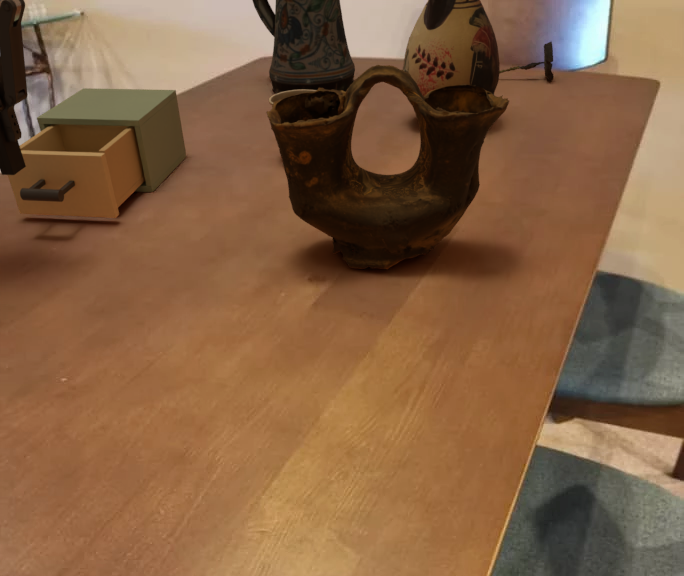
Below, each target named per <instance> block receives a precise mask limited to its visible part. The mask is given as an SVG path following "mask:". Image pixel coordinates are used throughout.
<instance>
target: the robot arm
mask: <svg viewBox="0 0 684 576" xmlns="http://www.w3.org/2000/svg"><path fill="white" fill-rule="evenodd" d="M25 8H26V1H25V0H0V174H1V175H3V176H8V175H15V174H16V173H18V172H19V171H20V170H22V169H23V168H25V167H26V165H25V162H24V159H23V156H22V153H21V149H20V143H19V141H20V140H21V139H22V130H21V127H20V124H19V120H18V117H17V114H16V111H15V105H17V104H19V103H21V102H22V101H24V100H26V99H27V98H28V84H27V75H26V74H27V72H26V62H25V52H24V51H25V49H24V40H23V29H22V21H23V16H24V12H25V10H26V9H25Z"/></svg>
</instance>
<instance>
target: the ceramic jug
mask: <svg viewBox="0 0 684 576" xmlns="http://www.w3.org/2000/svg"><path fill="white" fill-rule="evenodd" d="M498 46H499V45H498V41H497V37H496V34H495V31H494V28H493V25H492V23H491V21H490V19H489V16H488V15H487V12H486V9H485V7H484V5H483V3H482V1H481V0H427V2H426V3H425V4H424V7H423V9H422V11H421V13H420V14H419V16H418V18H417V20H416V22H415V24H414V26H413V28H412V30H411V33H410V35H409V37H408V41H407V44H406V48H405V53H404V58H403V65H402V70H403V71H405V72H407V73H409V74H410V75H411V77H412V78H413V79H414V81H415V82H416V83H417V85H418V87H419V89H420V91H421V93H422V95H423V96H425V95H426V94H427V93H428V92H429V91H431V90H434V89H438V88H443V87H447V86H456V85H463V84H468V85H471V86H475V87H481V88H483V89H485V90H486V91H488V92H491V93H492V94H493V95H494V96H495V92H496V89H497V87H498V84H499V80H500V74H499V72H500V71H501V70H500V69H501V66H500V55H499V47H498ZM487 94H490V93H487ZM406 99H407V101H408V102H409V100H408V97H406Z"/></svg>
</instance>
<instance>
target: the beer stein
mask: <svg viewBox="0 0 684 576" xmlns="http://www.w3.org/2000/svg"><path fill="white" fill-rule="evenodd" d="M252 3H253V7H254V9H255V11H256V13H257V15H258V17H259V18H260V21H261V22H262V23H263V25H264V26H265V28H266V30H268V32H269V34H271V36H272V37H273V50H272V56H271V57H272V58H271V63H270V66H269V70H268V75H269V79H270V83H271V85H272V91H273V92H274V94H277V93H280V92H284V91H291V90H302V89H303V90H304V89H305V90H318V88H324V89H326V90H332V89H334V90H337V91H342V90H343V91H344V92H346V91H347V89H348V88H349V87H350V85H351V84H352V83H353V82H354V81H355V80H354V77H355V72H356V66H355V65H356V64H355V63H354V61H353V59H352V56H351V53H350V52H351V51H350V49H349V45H348V41H347V36H346V31H345V26H344V20H343V13H342V6H341V0H275V11H274V10H273V8H272V5H270V2H269V1H268V0H252Z"/></svg>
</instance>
